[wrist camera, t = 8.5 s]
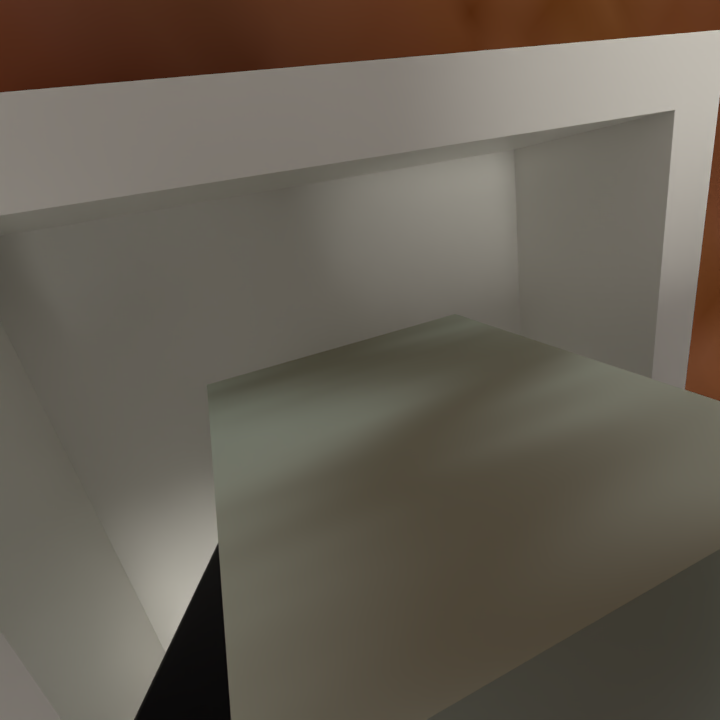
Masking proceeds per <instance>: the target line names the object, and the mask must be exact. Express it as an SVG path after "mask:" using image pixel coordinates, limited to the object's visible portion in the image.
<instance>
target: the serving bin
mask: <svg viewBox="0 0 720 720" xmlns="http://www.w3.org/2000/svg"><path fill="white" fill-rule="evenodd" d="M719 97H720V30H715V31H704V32H692V33H681V34H669V35H658V36H646V37H634V38H623V39H611V40H600V41H588V42H577V43H565V44H554V45H542V46H531V47H519V48H507V49H496V50H484V51H473V52H461V53H450V54H438V55H427V56H415V57H404V58H392V59H380V60H369V61H357V62H346V63H334V64H323V65H311V66H300V67H288V68H277V69H265V70H254V71H242V72H230V73H219V74H207V75H196V76H184V77H173V78H161V79H150V80H138V81H127V82H115V83H103V84H92V85H80V86H69V87H57V88H46V89H34V90H23V91H11V92H0V720H134V718H135V716H136V714H137V712H138V710H139V708H140V706H141V704H142V701H143V699H144V697H145V695H146V693H147V691H148V689H149V687H150V685H151V683H152V680H153V678H154V676H155V674H156V672H157V670H158V668H159V666H160V664H161V662H162V659H163V657H164V655H165V653H166V651H167V649H168V647H169V645H170V643H171V640H172V638H173V636H174V634H175V632H176V630H177V628H178V626H179V624H180V622H181V619H182V617H183V615H184V613H185V611H186V609H187V607H188V605H189V603H190V601H191V598H192V596H193V594H194V592H195V590H196V588H197V586H198V584H199V582H200V579H201V577H202V575H203V573H204V571H205V569H206V567H207V565H208V563H209V561H210V558H211V556H212V554H213V552H214V550H215V548H216V546H217V544H218V531H217V518H216V504H215V490H214V476H213V462H212V448H211V435H210V421H209V407H208V393H207V385H208V384H211V383H215V382H218V381H222V380H225V379H229V378H232V377H236V376H239V375H243V374H246V373H250V372H253V371H257V370H260V369H264V368H267V367H271V366H274V365H278V364H281V363H285V362H288V361H292V360H296V359H299V358H303V357H306V356H310V355H313V354H317V353H320V352H324V351H327V350H331V349H334V348H338V347H341V346H345V345H348V344H352V343H355V342H359V341H362V340H366V339H369V338H373V337H376V336H380V335H383V334H387V333H390V332H394V331H397V330H401V329H404V328H408V327H411V326H415V325H418V324H422V323H425V322H429V321H432V320H436V319H439V318H443V317H446V316H450V315H453V314H457V315H460V316H463V317H466V318H469V319H472V320H475V321H478V322H481V323H484V324H487V325H490V326H493V327H496V328H499V329H502V330H505V331H508V332H511V333H514V334H517V335H520V336H523V337H526V338H529V339H533V340H536V341H539V342H542V343H545V344H548V345H551V346H554V347H557V348H560V349H563V350H566V351H569V352H572V353H575V354H578V355H581V356H584V357H587V358H590V359H593V360H596V361H599V362H602V363H605V364H608V365H611V366H614V367H617V368H620V369H624V370H627V371H630V372H633V373H636V374H639V375H642V376H645V377H648V378H651V379H654V380H657V381H660V382H663V383H666V384H669V385H672V386H675V387H678V388H681V389H684V390H685V383H686V374H687V366H688V358H689V349H690V341H691V332H692V324H693V316H694V307H695V299H696V290H697V282H698V274H699V265H700V257H701V249H702V240H703V232H704V223H705V215H706V207H707V198H708V190H709V181H710V173H711V165H712V156H713V148H714V139H715V131H716V123H717V114H718V106H719Z"/></svg>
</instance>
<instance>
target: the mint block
mask: <svg viewBox="0 0 720 720" xmlns="http://www.w3.org/2000/svg"><path fill="white" fill-rule="evenodd" d="M207 393H208V407H209V421H210V435H211V448H212V462H213V476H214V490H215V504H216V518H217V531H218V545H219V559H220V573H221V587H222V601H223V614H224V628H225V642H226V656H227V670H228V684H229V698H230V711H231V720H720V401H718V400H715V399H711V398H708V397H705V396H702V395H699V394H696V393H693V392H690V391H687V390H684V389H681V388H678V387H675V386H672V385H669V384H666V383H663V382H660V381H657V380H654V379H651V378H648V377H645V376H642V375H639V374H636V373H633V372H630V371H627V370H624V369H620V368H617V367H614V366H611V365H608V364H605V363H602V362H599V361H596V360H593V359H590V358H587V357H584V356H581V355H578V354H575V353H572V352H569V351H566V350H563V349H560V348H557V347H554V346H551V345H548V344H545V343H542V342H539V341H536V340H533V339H529V338H526V337H523V336H520V335H517V334H514V333H511V332H508V331H505V330H502V329H499V328H496V327H493V326H490V325H487V324H484V323H481V322H478V321H475V320H472V319H469V318H466V317H463V316H460V315H457V314H453V315H450V316H446V317H443V318H439V319H436V320H432V321H429V322H425V323H422V324H418V325H415V326H411V327H408V328H404V329H401V330H397V331H394V332H390V333H387V334H383V335H380V336H376V337H373V338H369V339H366V340H362V341H359V342H355V343H352V344H348V345H345V346H341V347H338V348H334V349H331V350H327V351H324V352H320V353H317V354H313V355H310V356H306V357H303V358H299V359H296V360H292V361H288V362H285V363H281V364H278V365H274V366H271V367H267V368H264V369H260V370H257V371H253V372H250V373H246V374H243V375H239V376H236V377H232V378H229V379H225V380H222V381H218V382H215V383H211V384H208V385H207Z"/></svg>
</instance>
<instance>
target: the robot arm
mask: <svg viewBox="0 0 720 720" xmlns="http://www.w3.org/2000/svg"><path fill="white" fill-rule="evenodd" d="M134 720H231V711H230V698H229V684H228V670H227V656H226V642H225V628H224V614H223V601H222V587H221V573H220V559H219V545H218V544H217V546H216V548H215V550H214V552H213V554H212V556H211V558H210V561H209V563H208V565H207V567H206V569H205V571H204V573H203V575H202V577H201V579H200V582H199V584H198V586H197V588H196V590H195V592H194V594H193V596H192V598H191V601H190V603H189V605H188V607H187V609H186V611H185V613H184V615H183V617H182V619H181V622H180V624H179V626H178V628H177V630H176V632H175V634H174V636H173V638H172V640H171V643H170V645H169V647H168V649H167V651H166V653H165V655H164V657H163V659H162V662H161V664H160V666H159V668H158V670H157V672H156V674H155V676H154V678H153V680H152V683H151V685H150V687H149V689H148V691H147V693H146V695H145V697H144V699H143V701H142V704H141V706H140V708H139V710H138V712H137V714H136V716H135V718H134Z"/></svg>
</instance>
